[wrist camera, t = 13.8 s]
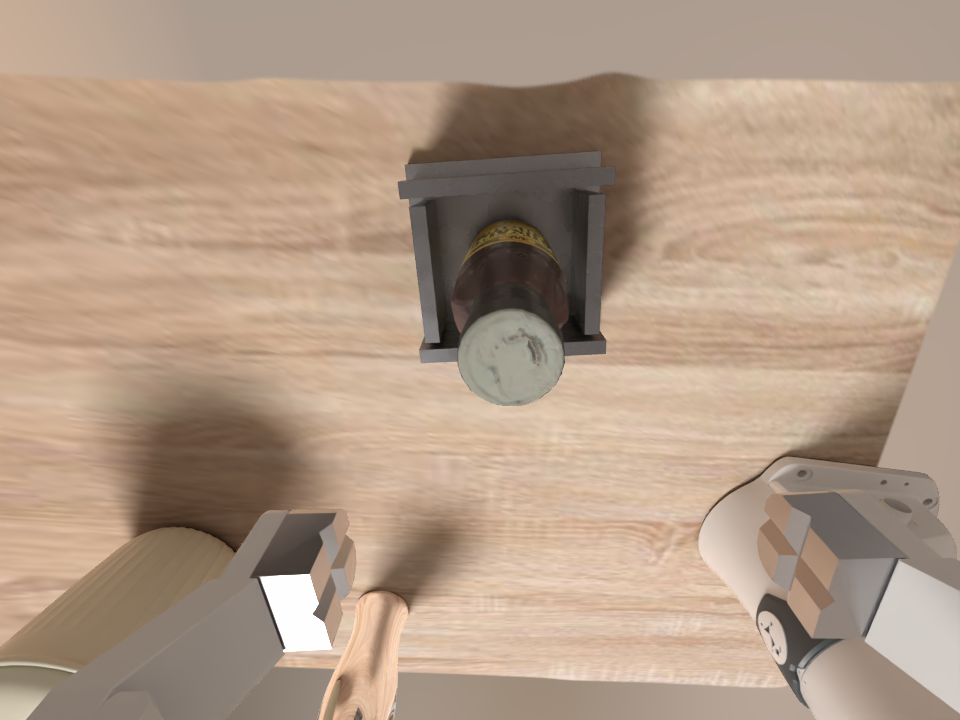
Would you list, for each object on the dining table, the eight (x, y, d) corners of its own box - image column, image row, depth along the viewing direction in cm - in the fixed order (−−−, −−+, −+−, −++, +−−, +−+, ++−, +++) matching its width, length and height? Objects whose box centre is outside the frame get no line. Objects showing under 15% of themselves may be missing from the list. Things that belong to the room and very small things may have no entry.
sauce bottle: (555, 222, 33) (635, 289, 15) (540, 302, 36) (593, 442, 18) (468, 210, 33) (443, 264, 15) (459, 292, 36) (429, 423, 17)
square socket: (598, 151, 32) (625, 147, 26) (591, 332, 38) (612, 366, 31) (407, 164, 33) (387, 164, 26) (427, 341, 38) (415, 376, 32)
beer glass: (374, 578, 50) (330, 734, 36) (424, 605, 52) (400, 765, 38) (341, 610, 52) (288, 769, 38) (390, 636, 54) (356, 797, 40)
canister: (253, 496, 46) (80, 738, 26) (292, 617, 53) (179, 876, 34) (83, 501, 46) (-206, 741, 27) (145, 620, 54) (-49, 876, 34)
